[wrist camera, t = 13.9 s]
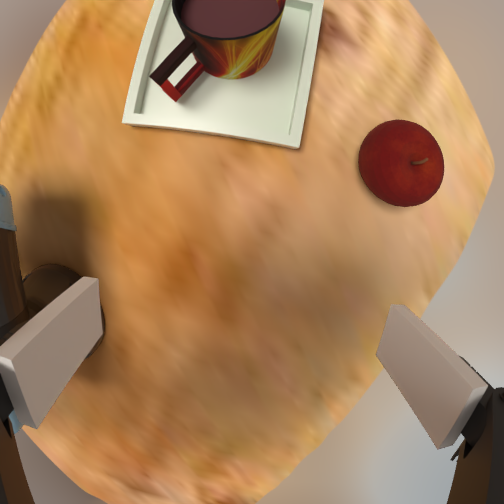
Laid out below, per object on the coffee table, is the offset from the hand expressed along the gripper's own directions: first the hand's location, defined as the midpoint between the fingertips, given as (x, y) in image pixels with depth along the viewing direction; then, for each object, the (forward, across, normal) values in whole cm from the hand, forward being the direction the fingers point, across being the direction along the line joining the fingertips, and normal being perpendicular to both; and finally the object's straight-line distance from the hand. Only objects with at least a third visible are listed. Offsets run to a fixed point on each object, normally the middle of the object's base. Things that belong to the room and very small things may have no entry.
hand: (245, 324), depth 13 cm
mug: (+25, -4, +20) cm, 32 cm away
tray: (+25, -4, +20) cm, 32 cm away
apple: (+25, +16, +10) cm, 32 cm away
